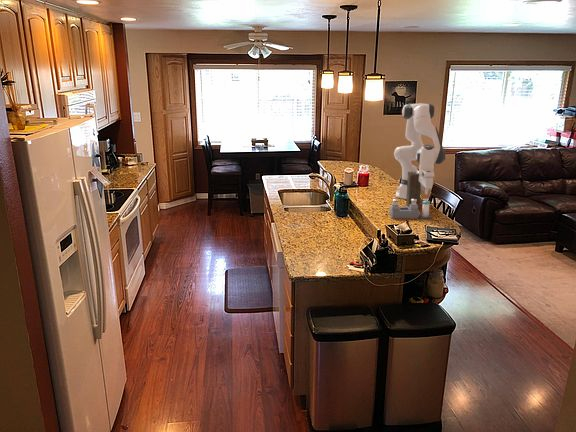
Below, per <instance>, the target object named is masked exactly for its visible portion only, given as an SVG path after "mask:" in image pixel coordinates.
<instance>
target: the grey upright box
mask: <svg viewBox="0 0 576 432" xmlns="http://www.w3.org/2000/svg"><path fill="white" fill-rule="evenodd" d="M408 174H409V175H408V182H407V198H406V199H405V200H406V207H409V204H412V201H411V199H417V201H416V204H417V205H418V210H420V208H421V207H420V205H421V197H420V195H421V194H422V193H421V191H422V190H421V183H420V182H419V172H418V173H416V172H415V171H414V173H413V172H410V171H409V172H408Z"/></svg>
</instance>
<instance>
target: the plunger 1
mask: <svg viewBox="0 0 576 432" xmlns="http://www.w3.org/2000/svg"><path fill="white" fill-rule="evenodd" d="M398 202H399V199H398V198H392V204H393V206H397V204H398Z"/></svg>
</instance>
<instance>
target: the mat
mask: <svg viewBox="0 0 576 432" xmlns="http://www.w3.org/2000/svg"><path fill="white" fill-rule="evenodd" d="M418 219H420V220H433V219H434V217H433V216H432V215H430V214H429V217H427V218H425V217H422V214H419V218H418Z"/></svg>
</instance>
